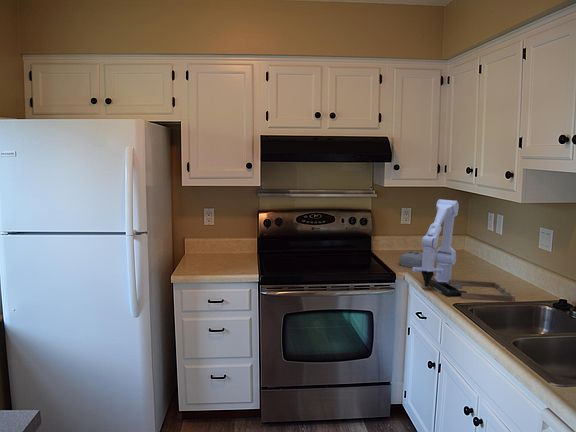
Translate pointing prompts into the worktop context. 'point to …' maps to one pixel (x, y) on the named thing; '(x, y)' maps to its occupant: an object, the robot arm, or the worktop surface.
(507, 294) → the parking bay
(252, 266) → the worktop surface
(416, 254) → the grey rounded bag
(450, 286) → the door handle
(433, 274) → the robot arm
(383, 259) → the worktop surface
